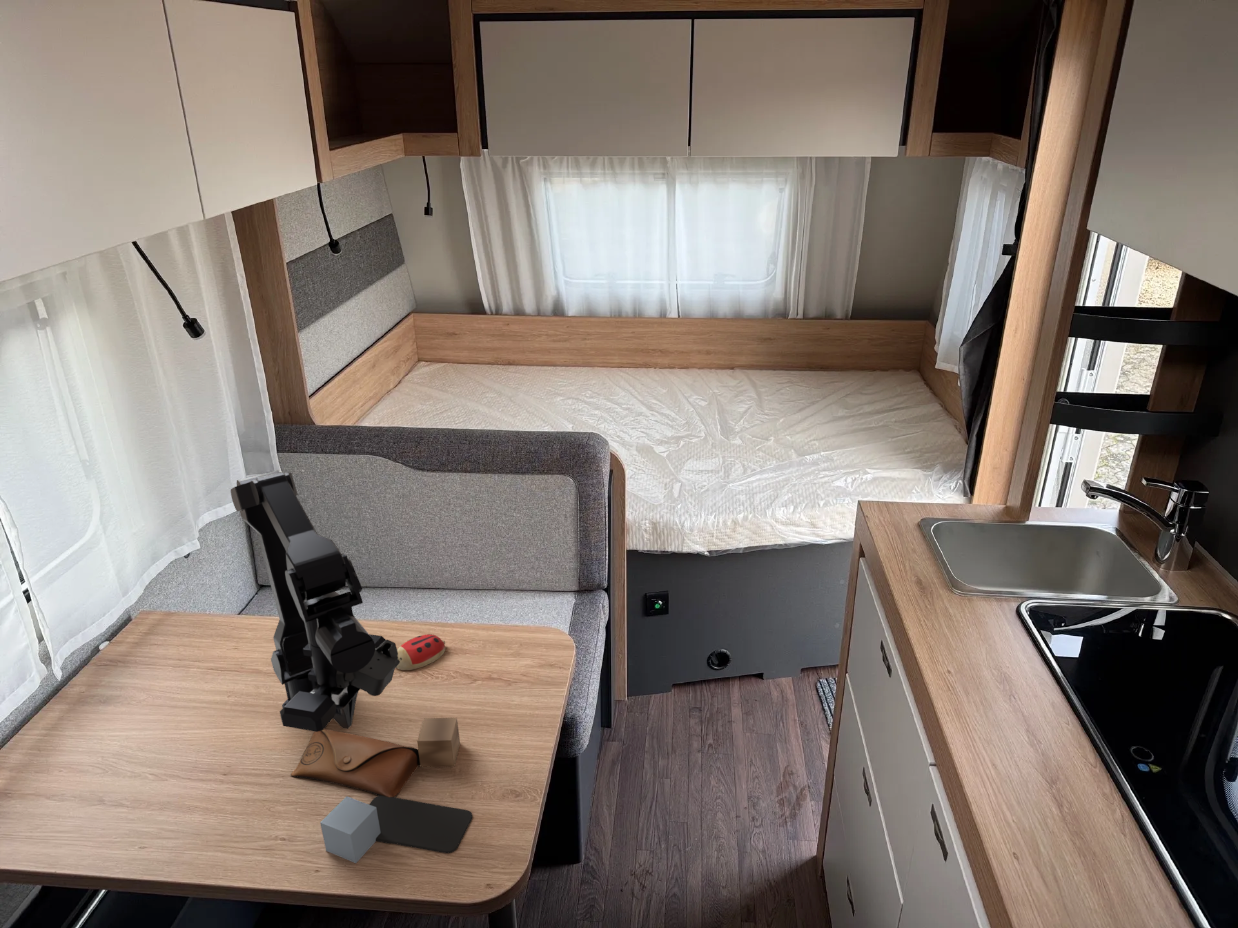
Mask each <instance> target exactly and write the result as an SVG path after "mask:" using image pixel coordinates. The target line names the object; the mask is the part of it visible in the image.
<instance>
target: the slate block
mask: <svg viewBox="0 0 1238 928" xmlns="http://www.w3.org/2000/svg"><path fill="white" fill-rule="evenodd" d="M369 804H370V803H369ZM369 804H368V803H366V802H363V801H360V800H359V799H355V798H352V797H350V796H345V797H344V798H343V799H342V800H341V801H340V802H339V803H338V804H337V805H336V806H335V807H334V808H333V809H332V810H331V811H330V812H329V813H328V814H327V815H326V816H325V817H324V818H323V819H322V820H321V821H320V822H319V824H320V828H321V833H322V837H323V841H324V842H323V843H324V848H325V852H328V853H330V854H332V855H335V856H337V857H340V858H342V859H345V860H347V861H350V862H352V863H354V864H357V862H359V860H361V859H362V858H363V856H364V855H365V854H366V853H367V852H368V850H369V849H370V848H371V847H372V846H373V845H374V844H375V843H376V842H377V841H376V837H377V836H378V835H379V834H380V833H381V832H380V826H379V820H378V815H377V809H376V807H374V806H371V805H369Z"/></svg>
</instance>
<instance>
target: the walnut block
mask: <svg viewBox="0 0 1238 928" xmlns="http://www.w3.org/2000/svg"><path fill="white" fill-rule="evenodd" d="M416 744H417V749H418V752H419V759H420V765H419V766H420V768H455V766H456V762H457V757H458V754H459V750H460V745H461V739H460V731H459V722H458V717H424V718H423V720H422V724H421V727H420V730H419V733H418V736H417V739H416Z"/></svg>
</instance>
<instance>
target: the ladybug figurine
mask: <svg viewBox="0 0 1238 928" xmlns="http://www.w3.org/2000/svg"><path fill="white" fill-rule="evenodd" d="M397 651H398V656H397V657H398V659H399V661H400V663H399V664H398V666H397V667H396V668H395V669H397V670H402V671H411V670H416V669H419V668H423V667H426V666H427V665H430V664H432V663H434V662H436V661H437V660H438V659H440V658H441V657H442V655H444V653H445V651H446V641H445V640H444V639H442V638H441V637H440V636H438V635H435V634H431V633H428V634H423V635H418V636H415V637H413V638H411V639H409V640H407V641H406V642H404V643H403V644H401V645H400V646H399V647H398V648H397Z"/></svg>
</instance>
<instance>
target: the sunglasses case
mask: <svg viewBox="0 0 1238 928" xmlns="http://www.w3.org/2000/svg"><path fill="white" fill-rule="evenodd" d="M419 766H420V759H419V752H418V748H417V747H413V746H405V745H402V744H397V743H394V742H390V741H386V740H382V739H377V738H374V737H368V736H363V735H359V734H354V733H349V732H343V731H339V730H337V731H336V730H332V729H327V728H324V729H323V730H321V731H318V732H314V731H313V734H312V736H311V738H310V740H309V742H308V744H307V746H306V748H305V749H304V752H303V753H302V756H301V757H300V760H299V762H298V764H297V766H296V768H295V769H294V770H293V771H292V772H291V773H290V777H293V778H301V779H310V780H314V781H320V782H325V783H329V784H335V785H339V786H343V787H346V788H347V787H348V788H352V789H357V790H358V791H359V790H360V791H363V792H367V793H370V794H372V795H375V796H376V797H377V796H380V795H383V796H386V797H396V798H397V796H398V795H399V794H400V792H401V791H402V789H403V787H404V786H405V785H406V783H407V782H408V781H409V779H410V778H411V777H412V775H413V774H414V773H415V772H416V770H417V769H418V767H419Z"/></svg>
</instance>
